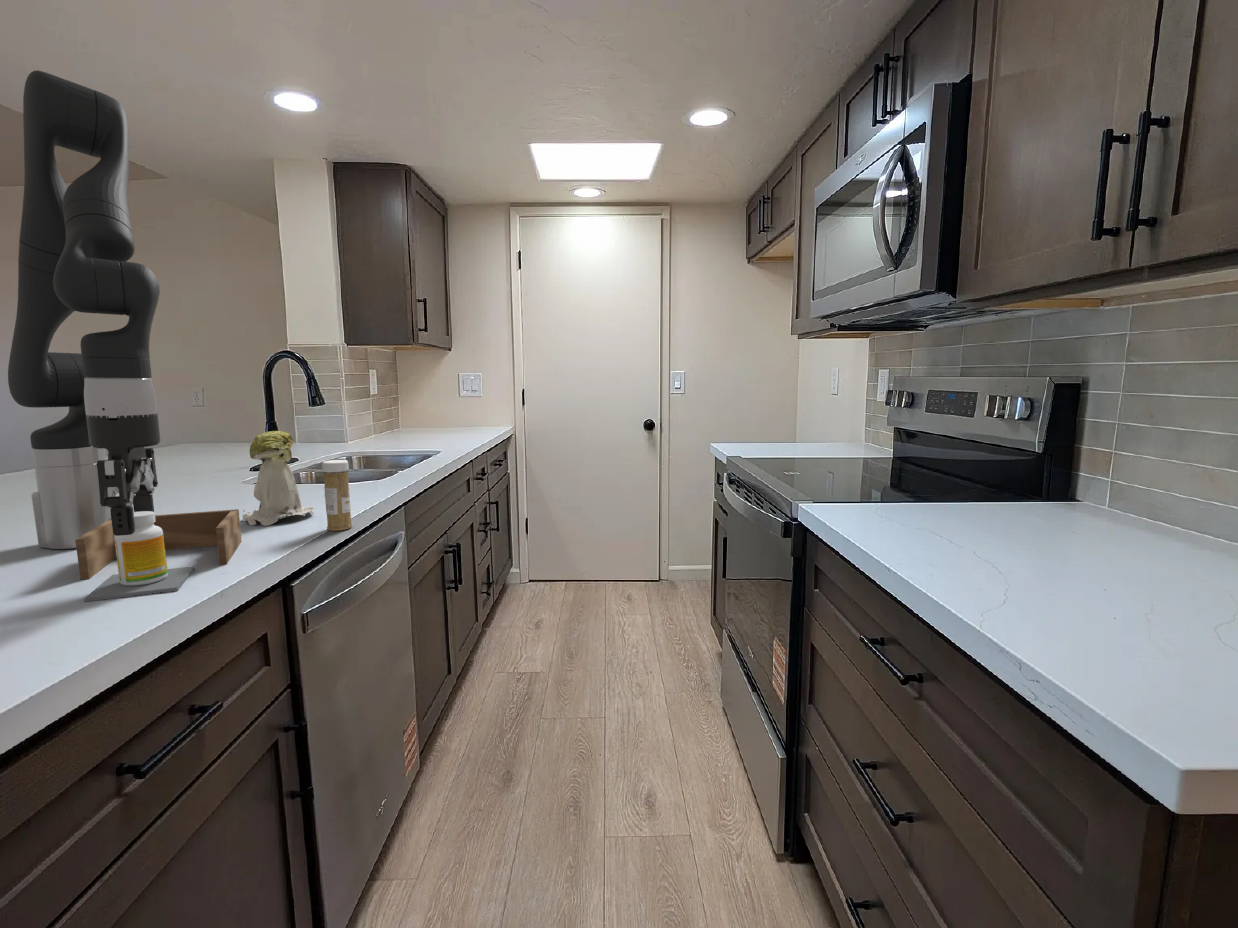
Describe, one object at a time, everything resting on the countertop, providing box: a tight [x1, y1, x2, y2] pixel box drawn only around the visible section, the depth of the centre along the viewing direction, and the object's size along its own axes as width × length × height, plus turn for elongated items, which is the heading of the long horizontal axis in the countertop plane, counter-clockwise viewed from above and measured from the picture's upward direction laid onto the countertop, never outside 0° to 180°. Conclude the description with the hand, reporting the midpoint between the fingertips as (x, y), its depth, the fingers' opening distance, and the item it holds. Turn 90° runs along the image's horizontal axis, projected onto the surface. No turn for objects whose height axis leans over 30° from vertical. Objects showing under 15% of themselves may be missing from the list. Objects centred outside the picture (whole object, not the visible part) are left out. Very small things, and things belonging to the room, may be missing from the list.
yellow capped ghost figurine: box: [242, 430, 314, 527], centre depth 122 cm, size 12×13×18 cm
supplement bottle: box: [114, 511, 168, 586], centre depth 83 cm, size 5×5×10 cm
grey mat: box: [84, 565, 196, 602], centre depth 84 cm, size 10×10×1 cm
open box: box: [75, 508, 242, 580], centre depth 95 cm, size 14×18×6 cm
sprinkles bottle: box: [321, 459, 353, 532], centre depth 114 cm, size 5×5×14 cm
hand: (135, 526), depth 82 cm, fingers open, 8 cm apart
